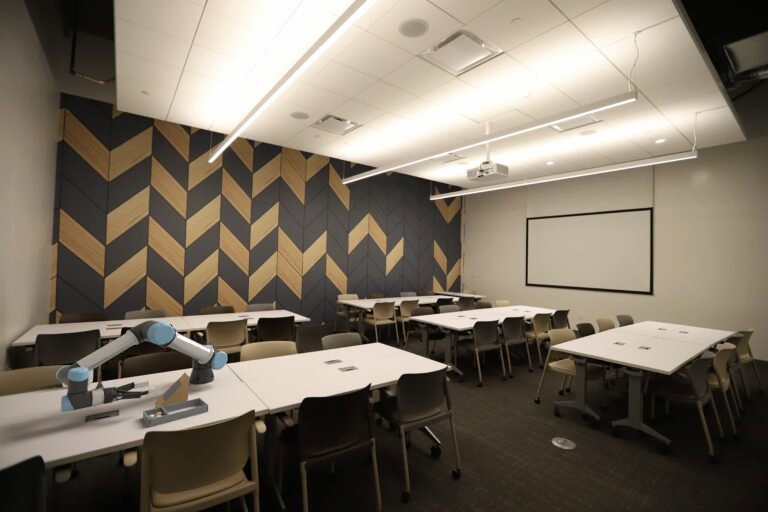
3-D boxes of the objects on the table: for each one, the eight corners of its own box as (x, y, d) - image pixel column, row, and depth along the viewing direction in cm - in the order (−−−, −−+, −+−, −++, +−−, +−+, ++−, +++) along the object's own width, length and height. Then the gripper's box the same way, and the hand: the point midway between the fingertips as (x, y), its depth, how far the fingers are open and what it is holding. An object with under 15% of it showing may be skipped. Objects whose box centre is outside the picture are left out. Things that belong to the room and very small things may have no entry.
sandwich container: (153, 403, 199) (154, 377, 199) (184, 397, 209) (185, 371, 209) (156, 409, 192) (157, 381, 192) (187, 402, 203) (188, 375, 203)
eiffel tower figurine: (117, 387, 222) (118, 366, 222) (113, 393, 213) (114, 370, 213) (86, 390, 215) (87, 368, 215) (81, 396, 206) (82, 373, 206)
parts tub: (199, 404, 200) (199, 397, 200) (208, 411, 191) (208, 404, 191) (142, 418, 181) (143, 411, 181) (149, 426, 172) (149, 419, 172)
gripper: (98, 396, 187) (145, 387, 202) (106, 412, 169) (157, 400, 185) (98, 382, 187) (146, 374, 202) (107, 396, 169) (158, 386, 185)
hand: (152, 386), depth 193 cm, fingers open, 13 cm apart
